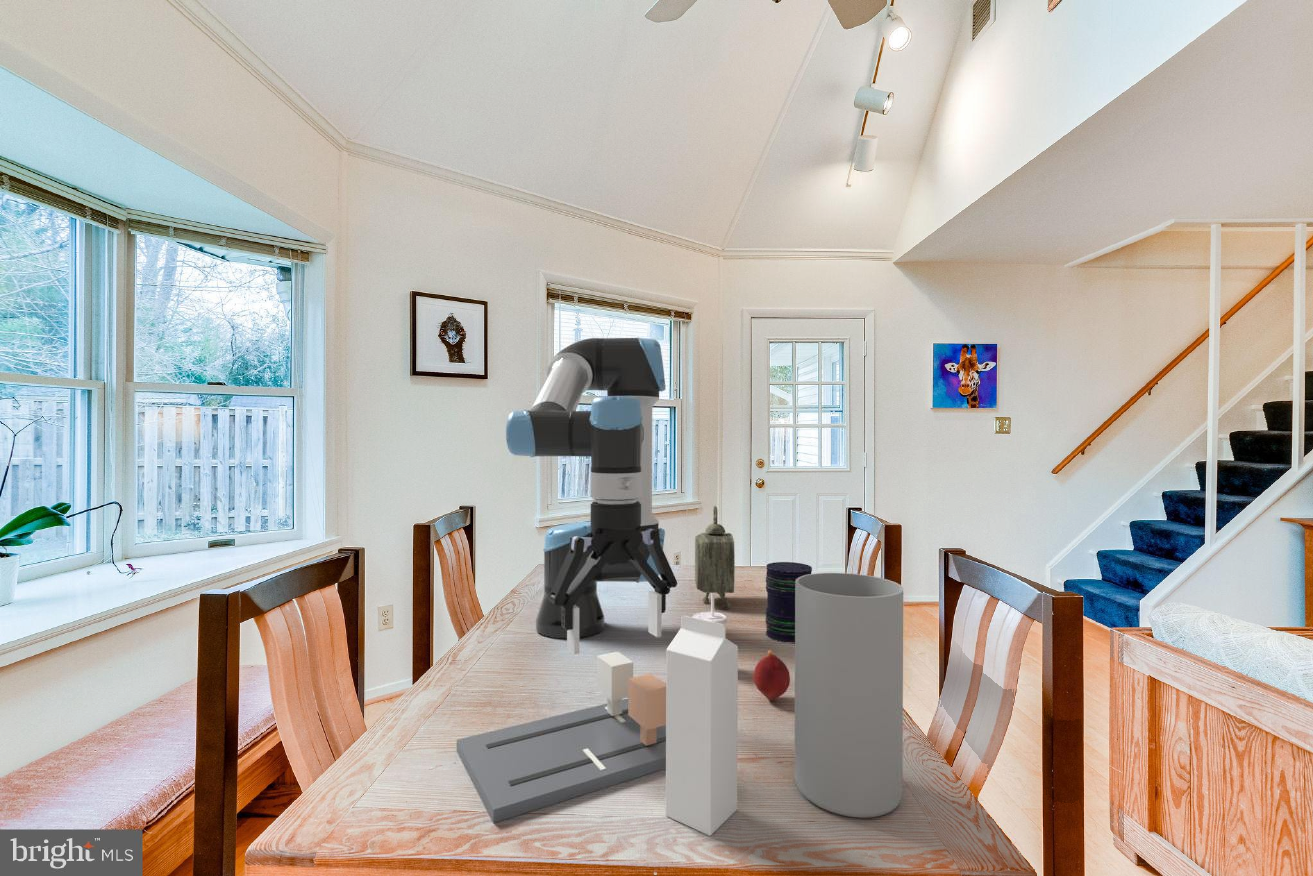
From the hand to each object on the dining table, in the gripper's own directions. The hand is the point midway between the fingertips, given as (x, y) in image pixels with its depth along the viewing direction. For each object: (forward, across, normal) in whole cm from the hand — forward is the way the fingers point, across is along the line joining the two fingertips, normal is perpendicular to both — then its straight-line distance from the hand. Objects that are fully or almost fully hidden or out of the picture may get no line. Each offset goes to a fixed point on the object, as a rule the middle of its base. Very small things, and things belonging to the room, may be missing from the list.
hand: (615, 642), depth 91 cm
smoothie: (+13, +25, +10) cm, 30 cm away
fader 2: (+10, 0, -11) cm, 15 cm away
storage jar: (+13, +51, +17) cm, 55 cm away
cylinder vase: (+12, +17, -30) cm, 36 cm away
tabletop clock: (+14, +52, +46) cm, 71 cm away
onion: (+12, +26, -6) cm, 29 cm away
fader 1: (+10, 0, -1) cm, 10 cm away
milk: (+12, -1, -25) cm, 27 cm away
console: (+12, -8, -6) cm, 16 cm away
